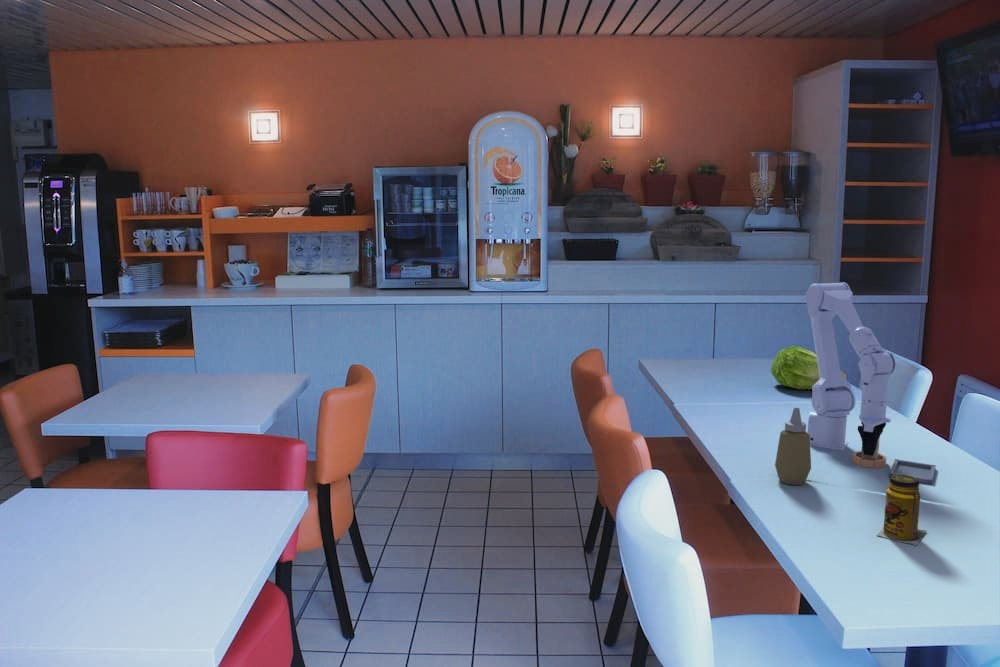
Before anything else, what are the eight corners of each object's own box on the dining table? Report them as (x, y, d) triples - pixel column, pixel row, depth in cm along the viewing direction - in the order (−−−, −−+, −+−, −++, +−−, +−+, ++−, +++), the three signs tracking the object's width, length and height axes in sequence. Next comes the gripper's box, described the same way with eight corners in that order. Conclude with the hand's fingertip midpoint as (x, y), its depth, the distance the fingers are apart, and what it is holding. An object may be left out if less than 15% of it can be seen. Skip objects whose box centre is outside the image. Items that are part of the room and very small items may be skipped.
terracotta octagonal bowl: (850, 466, 199) (851, 457, 198) (855, 457, 205) (855, 449, 204) (883, 471, 195) (884, 462, 194) (887, 462, 201) (887, 454, 201)
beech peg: (860, 463, 199) (862, 432, 198) (862, 459, 202) (864, 429, 201) (875, 465, 197) (878, 434, 196) (877, 461, 200) (880, 431, 199)
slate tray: (888, 479, 189) (889, 473, 189) (894, 464, 199) (894, 459, 199) (931, 486, 185) (932, 480, 184) (935, 471, 195) (935, 465, 194)
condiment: (876, 536, 159) (881, 479, 156) (888, 522, 165) (892, 467, 163) (916, 546, 154) (921, 487, 152) (926, 532, 160) (932, 475, 158)
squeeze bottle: (793, 489, 183) (797, 414, 180) (766, 478, 190) (770, 406, 187) (817, 483, 187) (822, 409, 184) (790, 473, 194) (795, 401, 191)
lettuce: (828, 395, 286) (838, 412, 271) (763, 371, 287) (770, 387, 272) (847, 359, 281) (858, 375, 266) (781, 335, 282) (789, 349, 267)
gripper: (888, 408, 189) (883, 463, 191) (895, 395, 201) (890, 446, 203) (856, 404, 192) (852, 458, 195) (864, 391, 204) (860, 442, 207)
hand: (869, 452), depth 199 cm, fingers open, 4 cm apart
